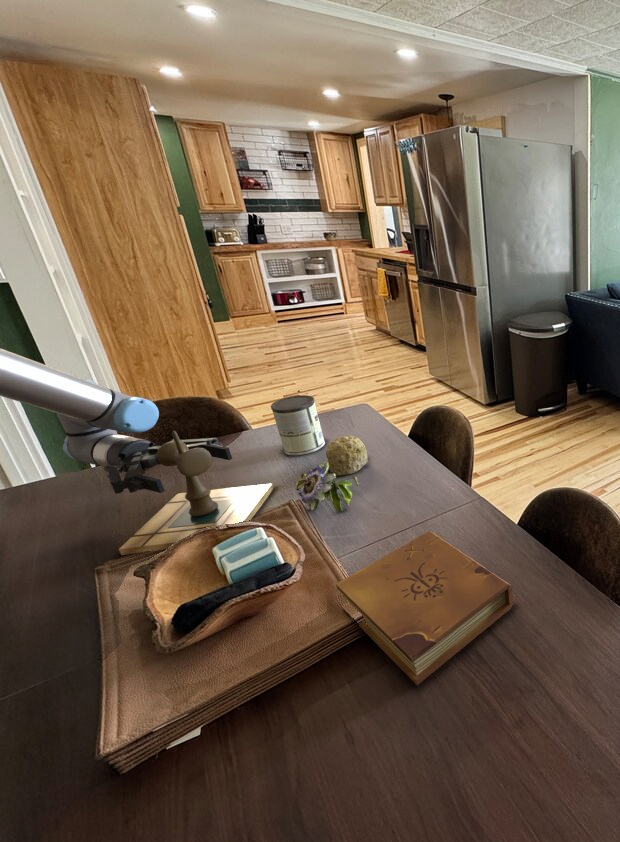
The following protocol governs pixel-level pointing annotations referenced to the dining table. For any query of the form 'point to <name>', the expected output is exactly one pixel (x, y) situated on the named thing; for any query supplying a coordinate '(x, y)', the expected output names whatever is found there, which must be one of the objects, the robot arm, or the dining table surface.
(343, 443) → the rock
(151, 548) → the board
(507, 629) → the dining table surface
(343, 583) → the diary
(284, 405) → the coffee can
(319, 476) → the passion flower
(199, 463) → the kendama
